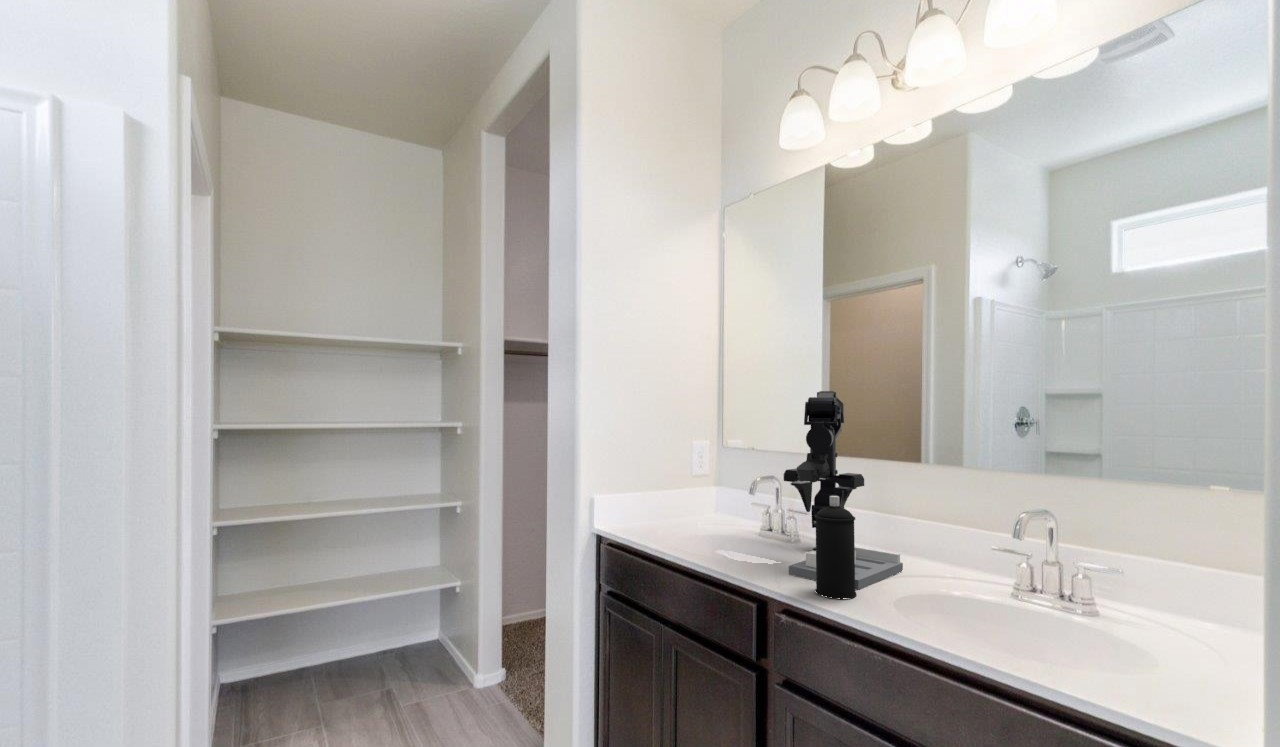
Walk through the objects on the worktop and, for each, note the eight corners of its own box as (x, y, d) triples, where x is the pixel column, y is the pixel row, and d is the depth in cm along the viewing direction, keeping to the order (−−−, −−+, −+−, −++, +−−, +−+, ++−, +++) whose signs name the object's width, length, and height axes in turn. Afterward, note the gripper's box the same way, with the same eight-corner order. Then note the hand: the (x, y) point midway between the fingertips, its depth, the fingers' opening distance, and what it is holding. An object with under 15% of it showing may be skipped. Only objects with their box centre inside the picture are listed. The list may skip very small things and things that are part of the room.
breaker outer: (813, 563, 147) (813, 550, 148) (824, 565, 145) (824, 552, 145) (805, 565, 145) (805, 552, 145) (817, 568, 143) (817, 554, 143)
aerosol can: (859, 600, 126) (857, 499, 127) (816, 598, 127) (815, 498, 128) (853, 589, 134) (852, 494, 135) (813, 587, 135) (812, 493, 137)
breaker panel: (836, 558, 161) (836, 542, 161) (902, 571, 149) (902, 554, 149) (788, 574, 146) (788, 556, 146) (858, 589, 133) (858, 570, 134)
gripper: (770, 448, 154) (771, 513, 153) (841, 452, 140) (842, 523, 140) (795, 446, 162) (795, 507, 161) (864, 450, 148) (865, 517, 147)
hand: (823, 513), depth 152 cm, fingers open, 8 cm apart
